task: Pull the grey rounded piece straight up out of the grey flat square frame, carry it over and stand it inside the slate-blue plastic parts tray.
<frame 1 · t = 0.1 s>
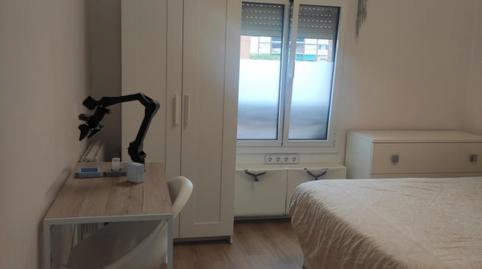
hand: (83, 139, 238), 15 cm above the table, tool tilted 35°, fingers open, 9 cm apart
grey rounded piece: (116, 166, 227), in the grey flat square frame
grey flat square frame: (115, 173, 227), on the table
medicine box: (135, 181, 214), on the table
parts tray: (89, 174, 223), on the table
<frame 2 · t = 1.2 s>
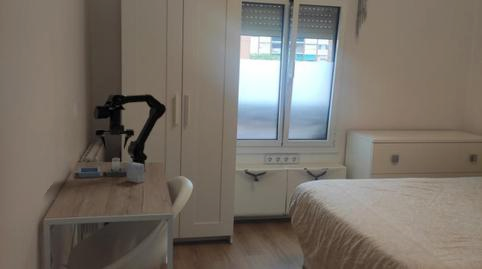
hand: (114, 148, 226), 13 cm above the table, tool pointing down, fingers open, 9 cm apart
nothing on the table moved.
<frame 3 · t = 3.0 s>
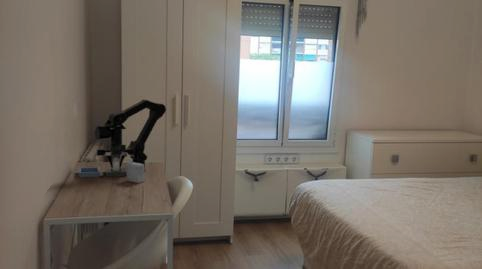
hand: (115, 167, 227), 3 cm above the table, tool pointing down, fingers closed on grey rounded piece, 4 cm apart
grey rounded piece: (115, 166, 227), in the grey flat square frame, touching gripper
everything else where it was.
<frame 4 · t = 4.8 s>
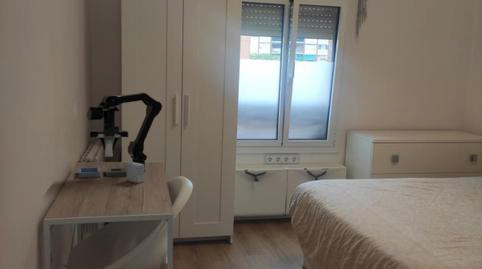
hand: (108, 150, 224), 12 cm above the table, tool pointing down, fingers closed on grey rounded piece, 4 cm apart
grey rounded piece: (108, 148, 224), point 13 cm above the table, touching gripper
everything else where it was.
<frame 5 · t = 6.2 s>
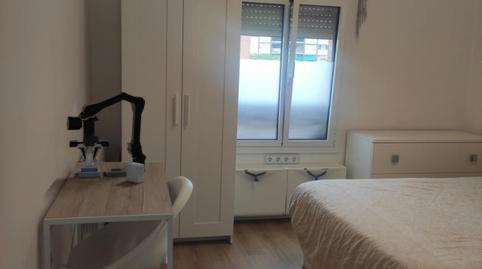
hand: (89, 160, 222), 7 cm above the table, tool pointing down, fingers closed on grey rounded piece, 4 cm apart
grey rounded piece: (89, 158, 222), point 8 cm above the table, touching gripper
everything else where it was.
when the fingers open (5 cm above the table, at t = 6.9 s): grey rounded piece drops 1 cm, resting on parts tray.
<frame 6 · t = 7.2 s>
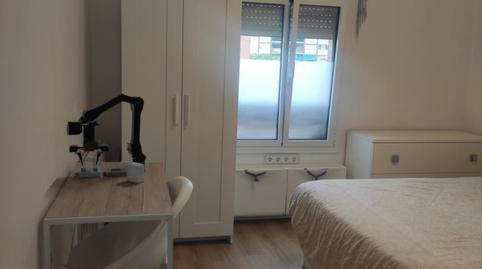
hand: (89, 165, 222), 5 cm above the table, tool pointing down, fingers open, 6 cm apart
grey rounded piece: (89, 165, 222), in the parts tray
everything else where it was.
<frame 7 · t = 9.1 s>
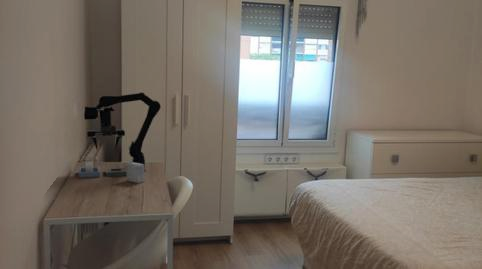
hand: (106, 149, 230), 12 cm above the table, tool pointing down, fingers open, 9 cm apart
nothing on the table moved.
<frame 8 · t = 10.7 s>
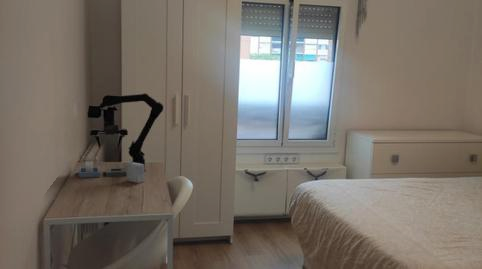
hand: (109, 148, 232), 12 cm above the table, tool pointing down, fingers open, 9 cm apart
nothing on the table moved.
at the end: grey rounded piece 0.0 cm off-centre on the parts tray, point 4.5 cm above the parts tray's base; grey rounded piece tilted 0°; the gripper is holding nothing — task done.
